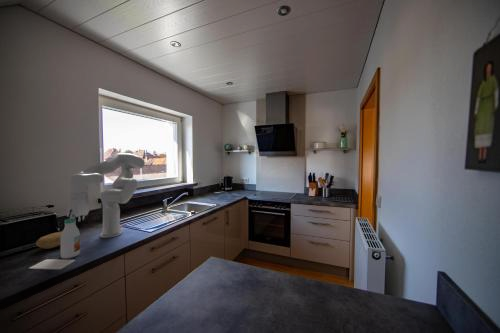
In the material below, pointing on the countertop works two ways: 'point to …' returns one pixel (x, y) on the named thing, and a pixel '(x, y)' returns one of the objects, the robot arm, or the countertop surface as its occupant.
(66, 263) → the pad
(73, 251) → the milk bottle
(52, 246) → the potato
